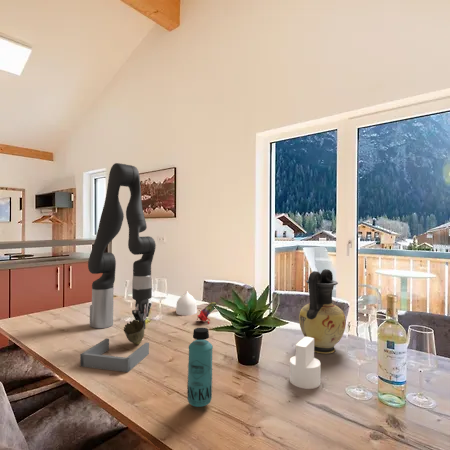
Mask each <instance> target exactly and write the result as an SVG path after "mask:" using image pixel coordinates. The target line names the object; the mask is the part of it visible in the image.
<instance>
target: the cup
mask: <svg viewBox="0 0 450 450" xmlns="http://www.w3.org/2000/svg"><path fill="white" fill-rule="evenodd" d="M123 332H124V334H125V336H126V338H127V340H128V341H129V342H130V343H132V344H133V345H135V346H136V345H140V344H141V343H142V341H143V338H144V336H145V329H144V324H143V322H142V321H140V322H139V321H138V320H135V319H133V320H132V321H131V320H130V321H129V323H128V322H127V323H126V324H125V325H124V327H123Z"/></svg>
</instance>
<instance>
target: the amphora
mask: <svg viewBox="0 0 450 450" xmlns="http://www.w3.org/2000/svg"><path fill="white" fill-rule="evenodd" d="M333 277H334V276H333V272H332V271H331V270H330V269H323V270H322V271H321V272H319V271H315V270H314V271H312V272H310V274H309V276H308V279H307V280H306V281H305V282H306V284H307V285H308V294H309V295H308V296H309V297H308V299H309V303H307V304H305V305H304V306H302V308H301V309H300V311H299V316H298V321H299V322H298V323H299V326H300V330H301V332H302V335H303V336H304V337H311V338H314V353H318V354H324V355H325V354H332V353H335V352H336V348H335V346H336V345H338V343H339V342H340V340H342V337H343V336H344V333H345V331H346V325H347V324H346V323H347V322H346V321H347V320H346V315H345V313H344V311H343V310H342V309H341V308H340V307H339V306H338V305H335V304H333V290H334V287H335V286H336V285H338V284H339V282H338V281H335V280H333V279H334V278H333Z"/></svg>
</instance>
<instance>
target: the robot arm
mask: <svg viewBox="0 0 450 450" xmlns="http://www.w3.org/2000/svg"><path fill="white" fill-rule="evenodd" d="M121 187H127V188H128V190H129V192H130V198H129V201H128V203H127V206H126V210H125V214H124V211H123V208H122V205H121V202H120V199H119V197H120V196H119V194H120V189H121ZM141 189H142V187H141V178H140V173H139V169H138V168H137V167H136V166H135V165H131V164H125V163H119V162H118V163H117V162H115V163H113V164H112V166H111V167H110V171H109V174H108V180H107V188H106V193H105V198H104V204H103V207H102V212H101V214H100V218H99V223H98V227H97V231H96V236H95V240H94V243H93V244H92V248H91V251H90V253H89V258H88V262H87V268H88V271H89V272H90V274H94V275H98V274H101V276H100V277H99V278H97V279H95V280H94V281H92V283H91V284H92V285H91V305H89V327H91V328H93V329H106V328H110V327H112V326H113V325H114V289H115V288H114V284H115V280H116V267H117V266H116V265H117V261H116V257H115V254H113V253H112V252H106V251H105V250H106V248H107V247H108V245H109V244H110V243H111V242H112V241H113V240H114V238H115V237H117V236H118V234H119V232H120V231H121V229H122V225H123V222H124V217H125V216H126V217H125V218H126V222H127V227H128V241H127V244H128V245H127V247H128V250H129V252H130V253H131V254H132V255H137V256H138V255H142V256H141V257H140V259H138V260H135V261H134V262H132V263H133V264H132V281H131V284H132V285H131V286H132V288H131V289H132V291H131V292H132V294H131V295H132V299H133V300H134V301H135V304H134V306H135V309H132V310H131V313H132V315H133V318H134V320H138V322H140V321H142V322H143V324H144V330H146V320H147V318H148V317H149V315H150V311H151V307H152V303H151V302H149V301H150V300H151V298H152V297H153V295H152V294H153V290H152V289H153V288H152V287H153V285H152V284H153V281H152V279H153V278H152V264H153V260H154V256H155V251H156V248H157V247H156V246H157V245H156V241H155V239H154V238H153V236H149V235H148V236H140V233H142V232H145V231H146V230H147V223H146V222H147V221H146V217H145V213H144V210H143V202H142V201H143V200H142V191H141ZM124 215H125V216H124Z"/></svg>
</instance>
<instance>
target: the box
mask: <svg viewBox="0 0 450 450" xmlns="http://www.w3.org/2000/svg"><path fill="white" fill-rule="evenodd" d="M109 350H110V339H109V338H105V339H103V340H101V341H100V342H98V343H97V344H95V345H93V346H92V347H90V348H88V349H87V350H85V351H83V352H80V355H79V357H80V359H79V360H80V361H79V363H80V364H79V365H80V367H81V368H82V367H83V368H90V369H92V368H93V369H99V370H105V371H106V370H107V371H115V372H124V373H129V372H130V371H131V370H132V369H134V368H135V367H136V366H137V365H138V364H139V363H141V361H142V360H144V359H145V358H146V357H147V356H148V355H149V354H150V342H144V344H142V345H141V346H140V347H138V348H137V349H135V350H134V351H133V352H132V353H131V354H129V355H128V356H126V357H125V356H124V357H123V356H115V355H106V354H104V353H106V352H109Z"/></svg>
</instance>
